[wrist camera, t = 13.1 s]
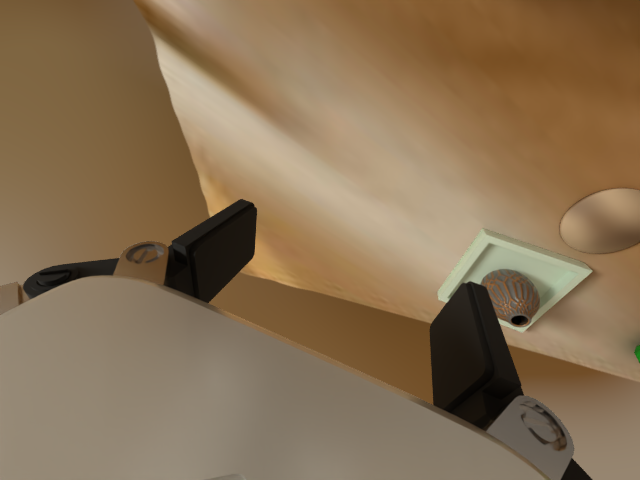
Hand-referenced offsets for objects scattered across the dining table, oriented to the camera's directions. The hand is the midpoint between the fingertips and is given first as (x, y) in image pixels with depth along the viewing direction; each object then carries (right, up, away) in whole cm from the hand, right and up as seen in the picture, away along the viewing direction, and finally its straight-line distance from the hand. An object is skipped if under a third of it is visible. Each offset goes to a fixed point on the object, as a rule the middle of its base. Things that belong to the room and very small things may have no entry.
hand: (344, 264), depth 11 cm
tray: (+28, -5, +29) cm, 41 cm away
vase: (+28, -5, +28) cm, 40 cm away
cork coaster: (+36, +3, +21) cm, 41 cm away
